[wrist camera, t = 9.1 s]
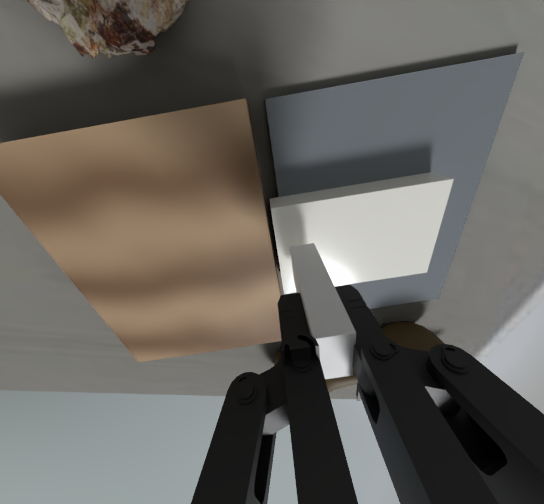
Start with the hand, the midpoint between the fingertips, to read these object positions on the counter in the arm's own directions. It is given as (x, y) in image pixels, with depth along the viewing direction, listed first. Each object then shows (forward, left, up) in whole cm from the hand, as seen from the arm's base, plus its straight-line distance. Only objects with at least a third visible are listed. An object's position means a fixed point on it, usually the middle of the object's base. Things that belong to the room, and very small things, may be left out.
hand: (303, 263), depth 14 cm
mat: (0, +6, -4) cm, 7 cm away
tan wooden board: (0, -9, -4) cm, 10 cm away
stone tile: (0, +4, -3) cm, 5 cm away
